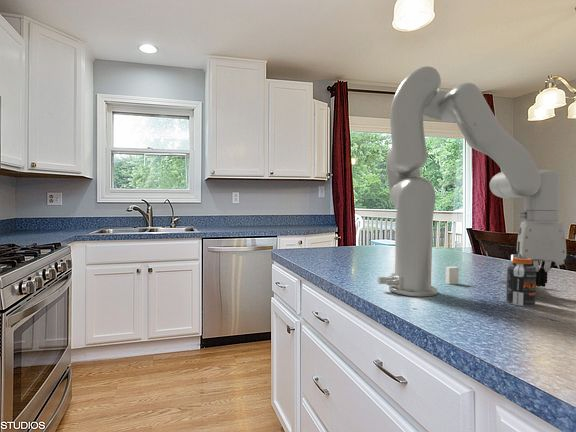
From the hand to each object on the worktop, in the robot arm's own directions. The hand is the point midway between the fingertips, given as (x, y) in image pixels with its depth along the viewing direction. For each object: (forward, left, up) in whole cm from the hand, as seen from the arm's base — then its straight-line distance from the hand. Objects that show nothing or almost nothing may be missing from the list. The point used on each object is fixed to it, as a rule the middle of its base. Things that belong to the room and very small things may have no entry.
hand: (539, 285), depth 94 cm
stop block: (-15, +16, -3) cm, 22 cm away
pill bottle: (-11, -7, -3) cm, 13 cm away
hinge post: (+4, +13, -3) cm, 14 cm away
